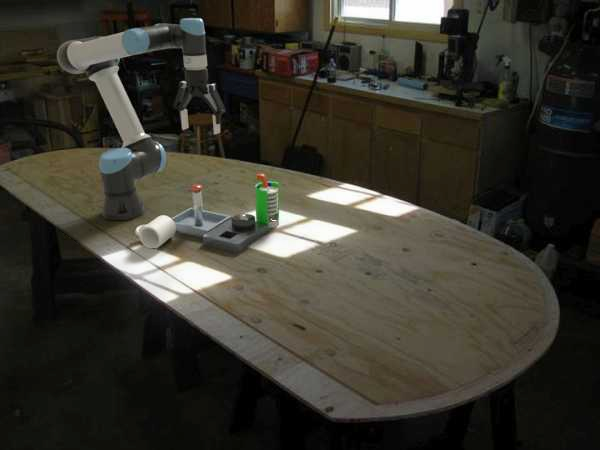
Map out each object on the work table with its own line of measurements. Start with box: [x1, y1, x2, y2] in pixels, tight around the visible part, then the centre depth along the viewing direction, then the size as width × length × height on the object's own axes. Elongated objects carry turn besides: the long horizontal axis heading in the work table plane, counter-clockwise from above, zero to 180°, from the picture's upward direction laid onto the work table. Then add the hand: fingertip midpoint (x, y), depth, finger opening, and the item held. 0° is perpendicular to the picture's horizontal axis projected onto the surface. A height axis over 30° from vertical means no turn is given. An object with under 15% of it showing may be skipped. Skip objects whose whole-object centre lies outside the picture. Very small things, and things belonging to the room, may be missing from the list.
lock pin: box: [189, 183, 204, 226], centre depth 208 cm, size 4×4×14 cm
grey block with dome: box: [202, 213, 269, 254], centre depth 201 cm, size 14×18×7 cm
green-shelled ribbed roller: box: [254, 173, 280, 229], centre depth 209 cm, size 9×8×18 cm
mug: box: [134, 214, 177, 250], centre depth 199 cm, size 12×10×8 cm
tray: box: [170, 207, 233, 239], centre depth 211 cm, size 18×14×3 cm
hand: (201, 131), depth 207 cm, fingers open, 13 cm apart
